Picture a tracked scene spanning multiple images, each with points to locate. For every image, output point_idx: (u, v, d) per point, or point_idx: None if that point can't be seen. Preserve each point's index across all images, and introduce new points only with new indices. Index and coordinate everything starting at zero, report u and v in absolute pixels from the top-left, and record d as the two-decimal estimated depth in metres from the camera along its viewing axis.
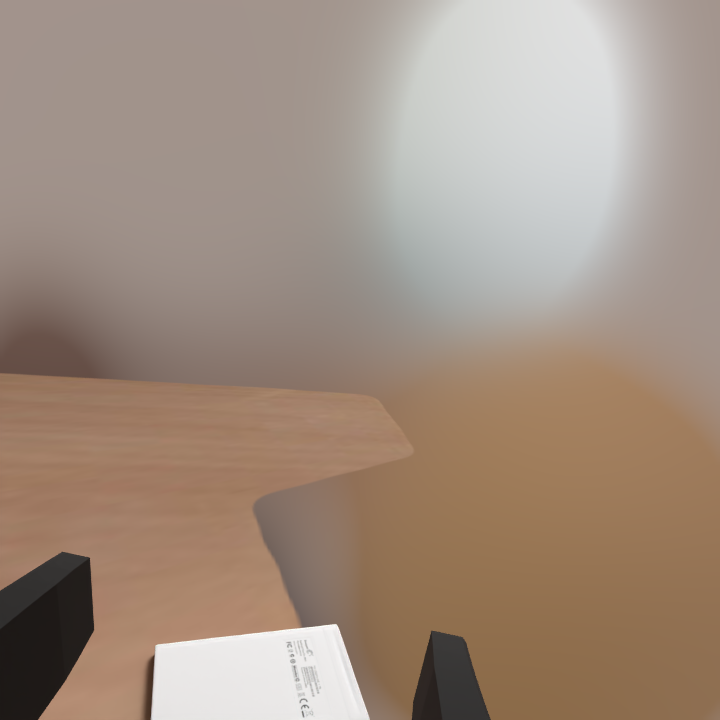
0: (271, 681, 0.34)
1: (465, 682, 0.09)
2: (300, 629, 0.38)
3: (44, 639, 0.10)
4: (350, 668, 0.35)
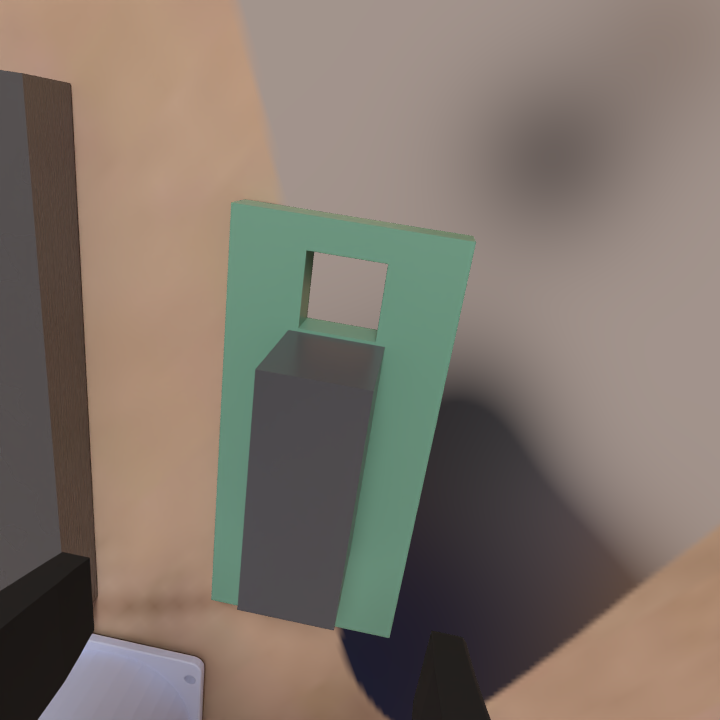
0: None
1: (465, 682, 0.09)
2: None
3: (44, 639, 0.10)
4: None
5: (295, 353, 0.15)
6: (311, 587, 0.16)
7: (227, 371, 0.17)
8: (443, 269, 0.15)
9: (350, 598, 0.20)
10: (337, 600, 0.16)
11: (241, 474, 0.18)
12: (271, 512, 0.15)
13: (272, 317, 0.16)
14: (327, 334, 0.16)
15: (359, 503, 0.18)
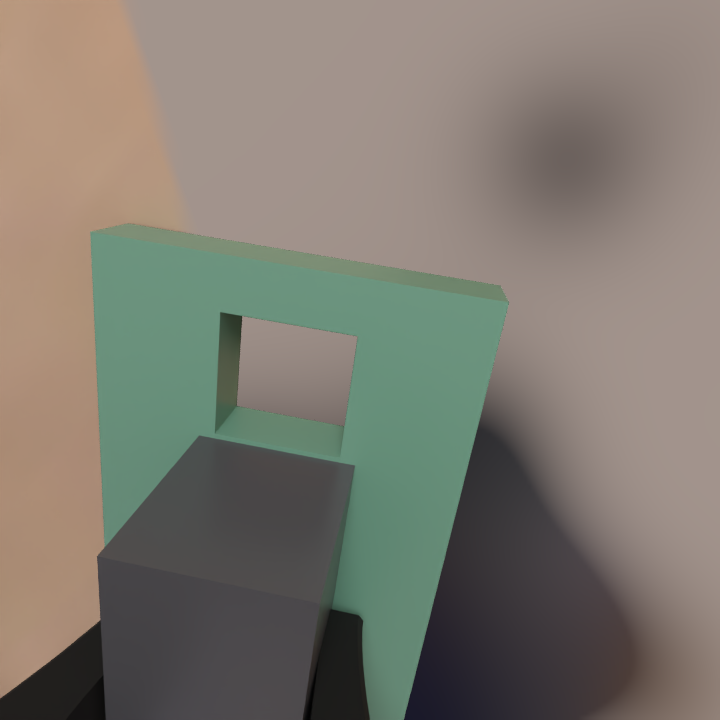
0: None
1: (348, 656, 0.09)
2: None
3: None
4: None
5: (193, 498, 0.08)
6: None
7: (108, 493, 0.11)
8: (451, 346, 0.09)
9: None
10: None
11: None
12: None
13: (172, 415, 0.10)
14: (261, 443, 0.10)
15: None
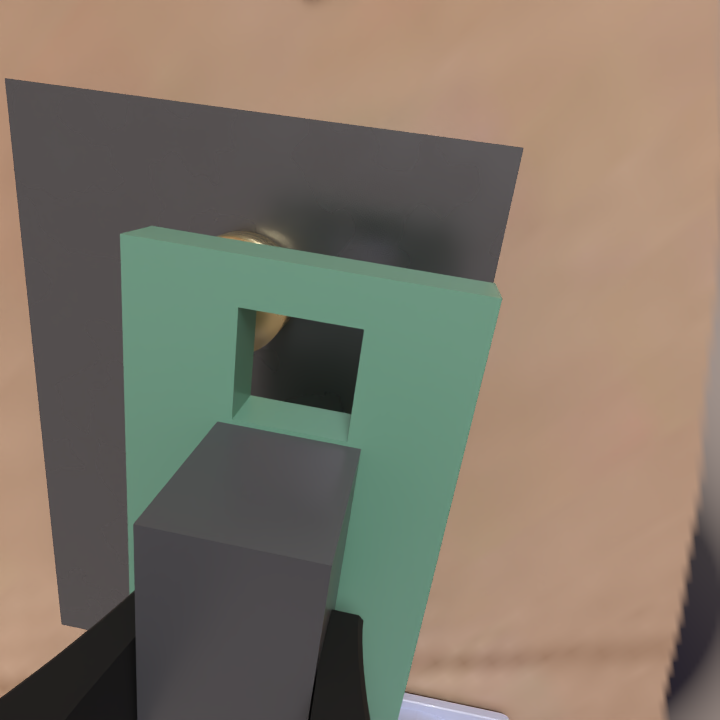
0: None
1: (348, 656, 0.09)
2: None
3: None
4: None
5: (215, 476, 0.09)
6: None
7: (132, 476, 0.12)
8: (450, 339, 0.10)
9: None
10: None
11: None
12: None
13: (192, 403, 0.11)
14: (275, 428, 0.11)
15: None
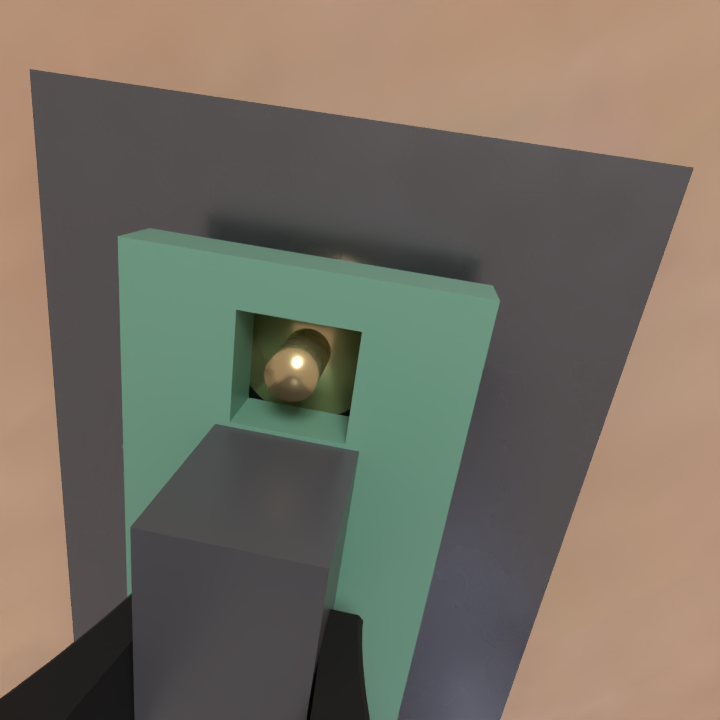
0: None
1: (348, 656, 0.09)
2: None
3: None
4: None
5: (212, 478, 0.09)
6: None
7: (130, 478, 0.12)
8: (448, 341, 0.10)
9: None
10: None
11: None
12: None
13: (190, 405, 0.11)
14: (273, 431, 0.11)
15: None
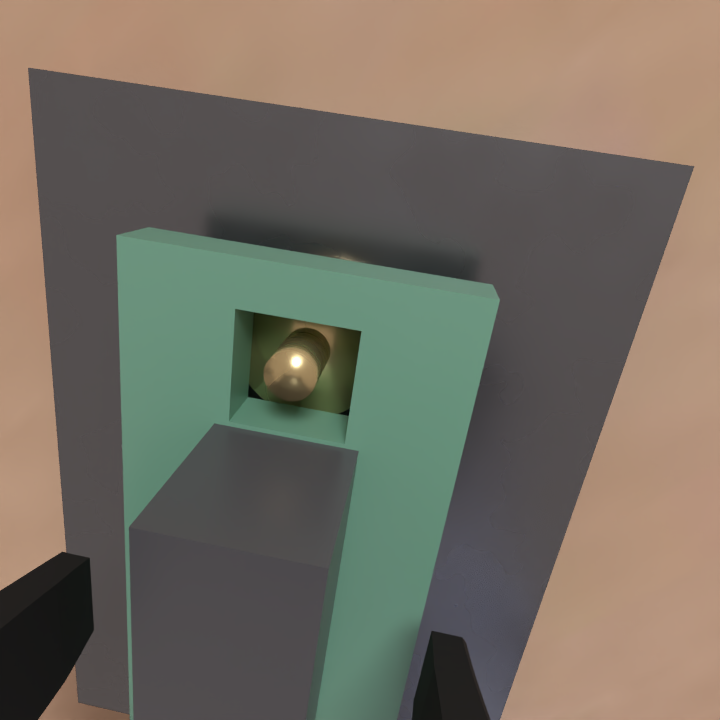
0: None
1: (465, 682, 0.09)
2: None
3: (44, 639, 0.10)
4: None
5: (211, 478, 0.09)
6: None
7: (129, 477, 0.12)
8: (448, 340, 0.10)
9: None
10: None
11: None
12: None
13: (189, 405, 0.11)
14: (272, 430, 0.11)
15: (326, 657, 0.13)
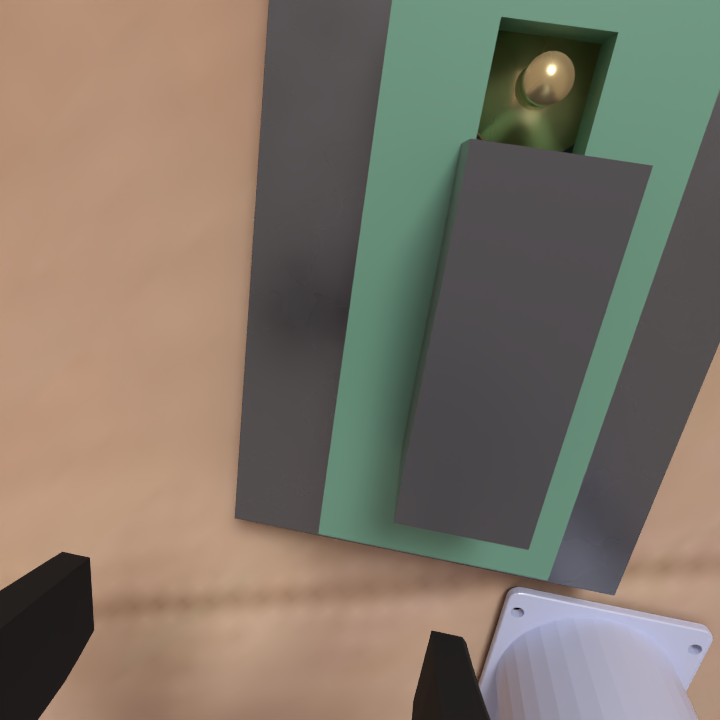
0: None
1: (465, 682, 0.09)
2: None
3: (44, 639, 0.10)
4: None
5: None
6: (505, 487, 0.11)
7: (368, 210, 0.13)
8: (699, 36, 0.11)
9: None
10: (541, 505, 0.11)
11: (374, 359, 0.14)
12: (462, 373, 0.10)
13: (440, 125, 0.12)
14: None
15: None
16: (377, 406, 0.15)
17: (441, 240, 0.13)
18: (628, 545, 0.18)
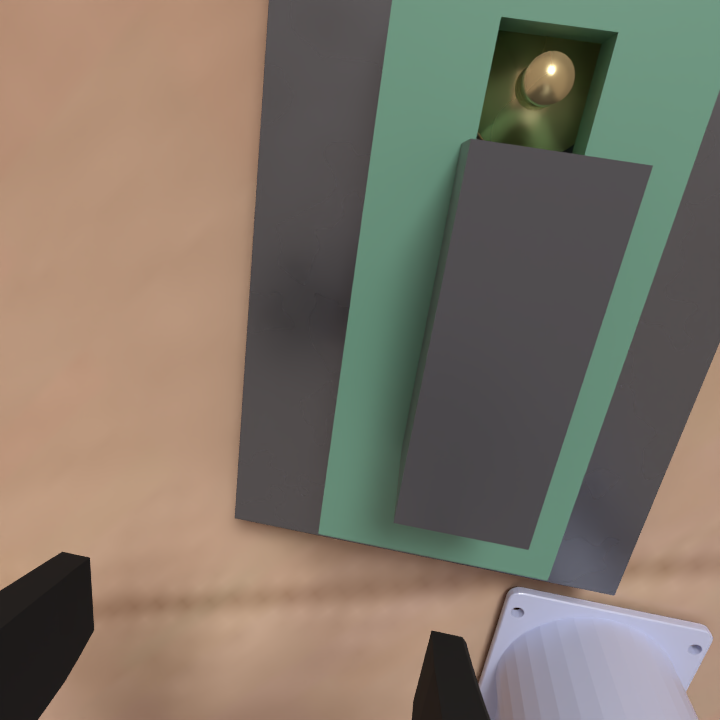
0: None
1: (465, 682, 0.09)
2: None
3: (44, 639, 0.10)
4: None
5: None
6: (505, 487, 0.11)
7: (368, 210, 0.13)
8: (699, 36, 0.11)
9: None
10: (541, 505, 0.11)
11: (374, 359, 0.14)
12: (462, 373, 0.10)
13: (440, 125, 0.12)
14: None
15: None
16: (377, 406, 0.15)
17: (441, 240, 0.13)
18: (628, 545, 0.18)
